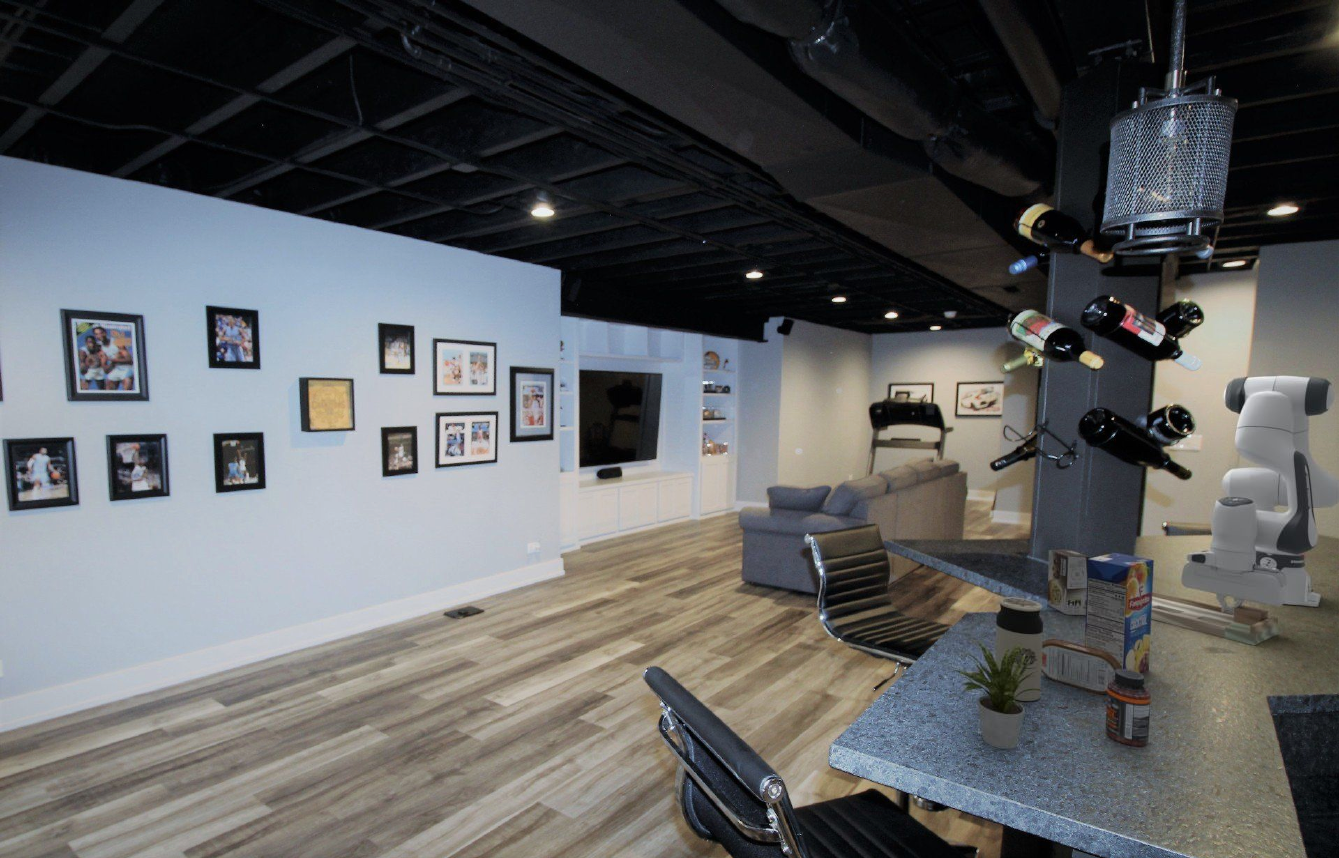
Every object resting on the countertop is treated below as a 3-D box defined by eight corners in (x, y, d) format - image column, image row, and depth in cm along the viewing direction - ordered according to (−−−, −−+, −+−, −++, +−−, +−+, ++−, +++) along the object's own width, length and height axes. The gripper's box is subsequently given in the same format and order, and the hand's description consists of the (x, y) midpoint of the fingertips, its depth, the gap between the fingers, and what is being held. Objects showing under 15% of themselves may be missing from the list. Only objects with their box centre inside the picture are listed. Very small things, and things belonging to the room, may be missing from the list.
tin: (1123, 696, 122) (1125, 653, 122) (1120, 701, 120) (1121, 658, 119) (1037, 672, 133) (1038, 633, 132) (1032, 676, 131) (1034, 636, 130)
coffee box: (1089, 615, 170) (1092, 556, 169) (1065, 614, 170) (1067, 556, 169) (1068, 604, 179) (1071, 549, 178) (1046, 604, 179) (1048, 548, 178)
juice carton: (1110, 657, 141) (1114, 552, 140) (1149, 670, 134) (1154, 559, 133) (1083, 669, 134) (1087, 558, 133) (1122, 682, 128) (1127, 566, 127)
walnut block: (1241, 618, 161) (1242, 605, 161) (1267, 624, 157) (1268, 610, 157) (1233, 621, 159) (1234, 607, 159) (1259, 627, 154) (1260, 613, 154)
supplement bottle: (1097, 727, 110) (1100, 664, 109) (1133, 730, 109) (1136, 666, 109) (1118, 746, 104) (1121, 679, 103) (1157, 748, 103) (1160, 681, 103)
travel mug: (994, 680, 128) (997, 594, 127) (1039, 689, 124) (1042, 600, 124) (993, 696, 121) (997, 604, 120) (1041, 706, 117) (1045, 611, 117)
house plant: (969, 708, 116) (972, 621, 116) (1054, 736, 107) (1058, 642, 106) (940, 736, 106) (943, 642, 105) (1032, 770, 96) (1036, 666, 96)
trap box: (1143, 602, 182) (1144, 586, 182) (1277, 634, 157) (1278, 616, 157) (1117, 609, 174) (1118, 594, 174) (1253, 645, 149) (1254, 626, 149)
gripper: (1291, 568, 154) (1288, 623, 154) (1190, 551, 171) (1187, 600, 172) (1281, 571, 150) (1278, 628, 151) (1179, 553, 168) (1177, 604, 169)
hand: (1229, 613), depth 161 cm, fingers closed
